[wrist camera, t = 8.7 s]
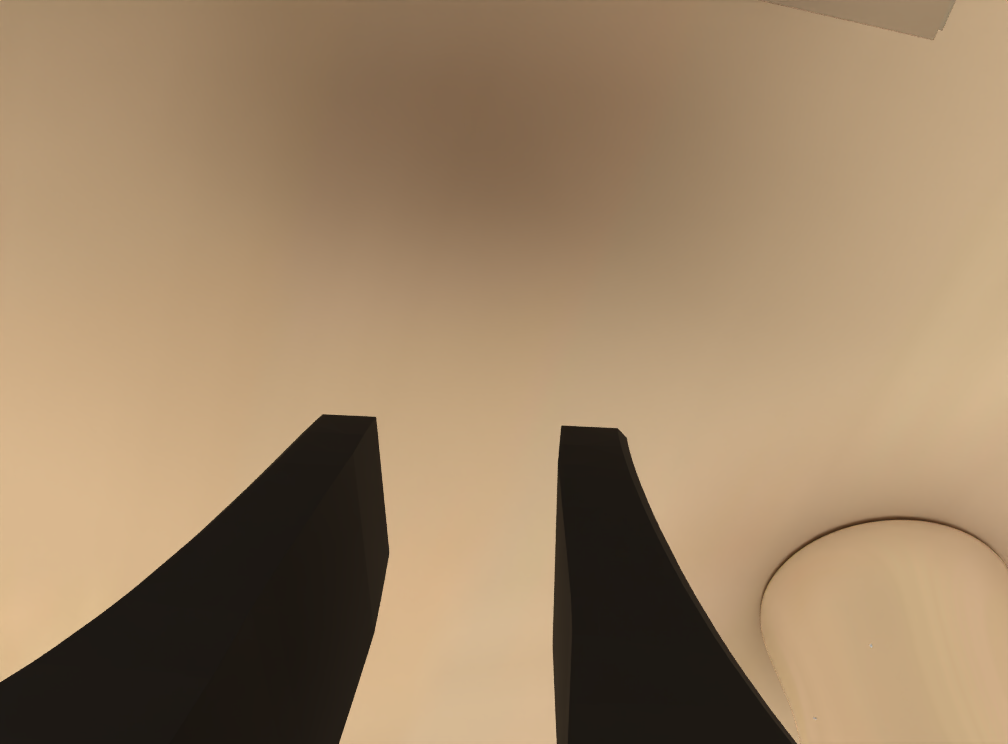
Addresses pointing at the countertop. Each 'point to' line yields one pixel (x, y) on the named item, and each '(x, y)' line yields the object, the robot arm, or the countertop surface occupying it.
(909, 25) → the lid
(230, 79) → the countertop surface
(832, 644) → the beer glass
